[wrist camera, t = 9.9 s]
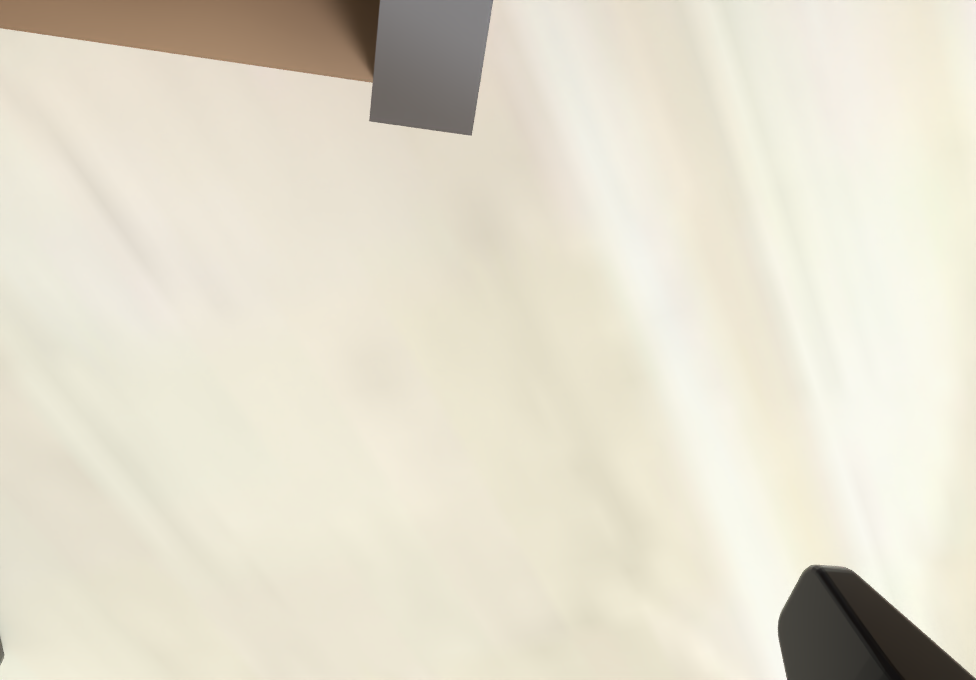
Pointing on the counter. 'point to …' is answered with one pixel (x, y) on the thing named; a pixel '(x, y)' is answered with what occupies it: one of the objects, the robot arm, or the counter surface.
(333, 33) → the jig
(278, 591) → the counter surface
